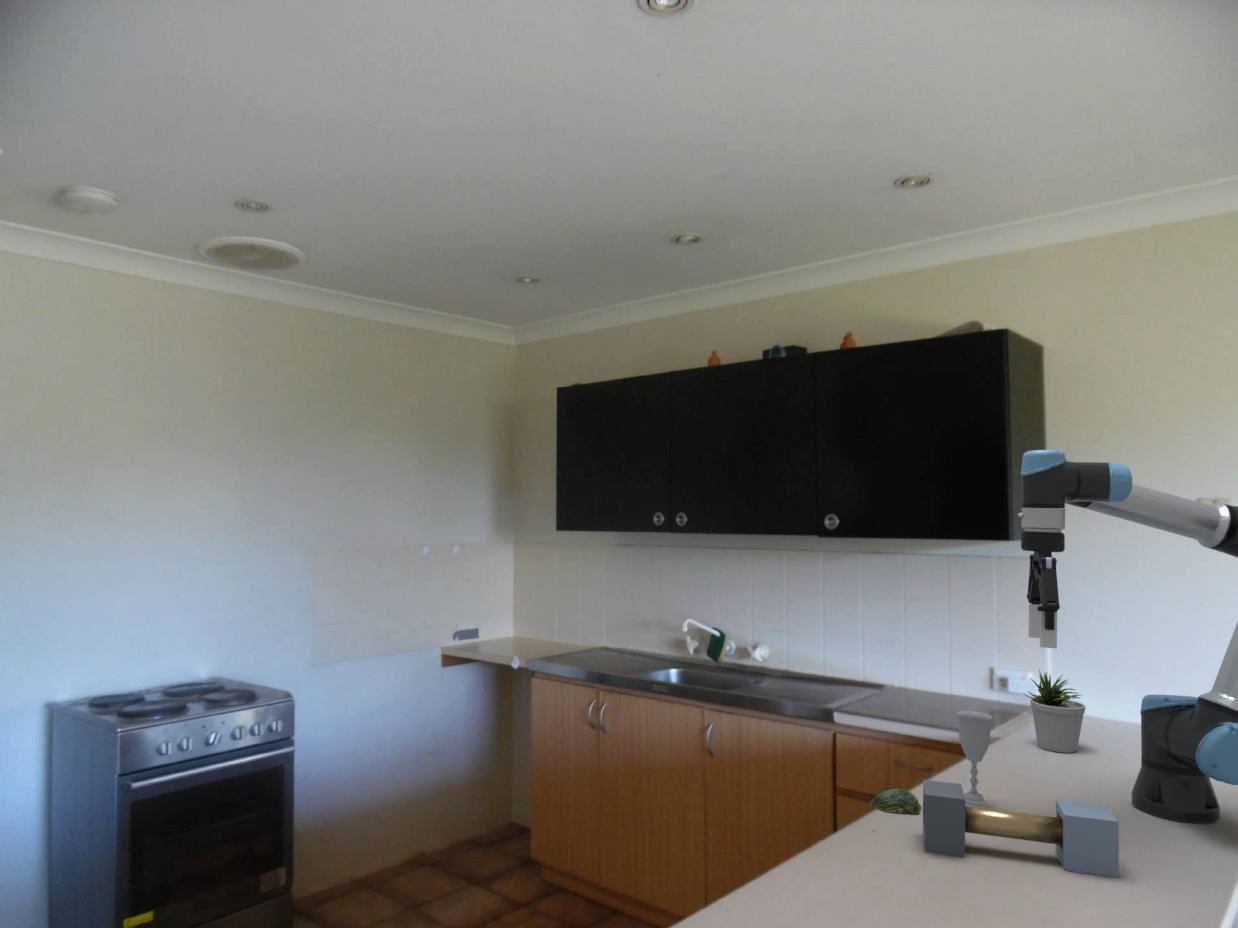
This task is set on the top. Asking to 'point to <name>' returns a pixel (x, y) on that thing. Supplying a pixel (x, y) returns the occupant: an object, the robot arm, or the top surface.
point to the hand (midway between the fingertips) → (1042, 642)
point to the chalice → (974, 748)
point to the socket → (943, 818)
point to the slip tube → (1014, 825)
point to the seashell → (896, 802)
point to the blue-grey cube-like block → (1088, 839)
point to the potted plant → (1056, 716)
